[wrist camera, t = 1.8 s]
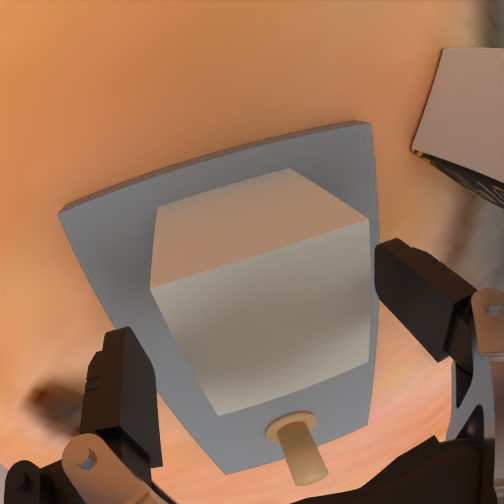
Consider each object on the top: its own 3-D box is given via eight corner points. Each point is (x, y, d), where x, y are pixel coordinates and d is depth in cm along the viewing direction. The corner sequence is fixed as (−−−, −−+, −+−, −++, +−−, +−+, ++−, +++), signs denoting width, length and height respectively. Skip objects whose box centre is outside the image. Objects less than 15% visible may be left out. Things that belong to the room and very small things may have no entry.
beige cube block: (289, 167, 13) (368, 219, 8) (308, 277, 16) (368, 361, 10) (157, 206, 12) (149, 288, 7) (198, 313, 15) (218, 416, 10)
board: (356, 120, 14) (450, 142, 8) (362, 416, 26) (390, 464, 21) (65, 205, 12) (8, 275, 7) (223, 464, 25) (237, 520, 20)
